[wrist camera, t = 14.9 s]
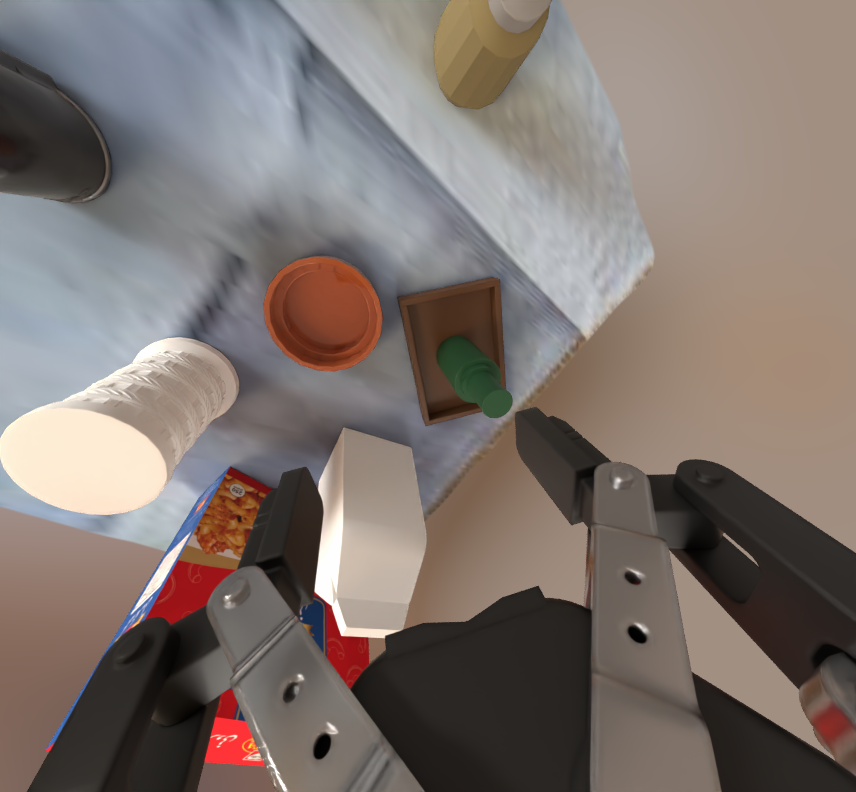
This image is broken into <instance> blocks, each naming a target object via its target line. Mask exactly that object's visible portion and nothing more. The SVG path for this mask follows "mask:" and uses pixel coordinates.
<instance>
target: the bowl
mask: <svg viewBox="0 0 856 792" xmlns="http://www.w3.org/2000/svg"><path fill="white" fill-rule="evenodd" d="M264 315H265V323H266V326H267V328H268V330H269V333H270V335H271V337H272V339H273V341H274V342H275V343H276V344H277V346H278V347H279V348H280V349H281V350H282V352H283V353H284V354H285V355H287V356H288V357H290V358H291V359H292V360H294V361H295V362H297V363H298V364H300V365H303V366H306V367H309V368H312V369H314V370H320V371H338V370H342V369H346V368H350V367H352V366H354V365H356V364H357V363H359V362H361V361H362V360H364V359H365V358H366V357H367V356H368V355H369V354H370V352H371V351H372V350H373V349H374V348H375V346H376V344H377V341H378V339H379V337H380V334H381V331H382V318H383V316H382V310H381V306H380V302H379V298H378V295H377V293H376V291H375V289H374V287H373V286H372V284H371V282H370V281H369V279H368V278H367V277H366V276H365V275H364V274H363V273H362V272H361V271H360V270H359V269H358V268H357V267H356V266H354V265H353V264H350V263H348V262H346V261H344V260H342V259H340V258H338V257H331V256H324V255H317V256H312V257H306V258H302V259H299V260H297V261H295V262H293V263H291V264H290V265H288V266H286V267H285V268H283V269H282V270H280V271H279V272H278V274H277V275H276V276H275V278H274V279H273V280H272V282H271V283H270V284H269V286H268V289H267V293H266V297H265V300H264Z"/></svg>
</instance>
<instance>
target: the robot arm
mask: <svg viewBox="0 0 856 792" xmlns="http://www.w3.org/2000/svg"><path fill="white" fill-rule="evenodd" d="M111 173H112V164H111V157H110V153H109V150H108V147H107V144H106V142H105V140H104V138H103V136H102V134H101V132H100V131H99V129H98V128H97V126H96V125H95V123H94V122H93V121H92V119H91V118H90V117H89V116H88V115H87V113H86V112H85V111H84V110H83V109H82V108H81V107H80V106H79V105H77V104H76V103H75V102H74V101H73V100H72V99H70V98H69V97H68V96H66V95H65V94H63V93H62V92H60V91H59V89H58V88H57V87H56V85H55V83H54V81H53V80H52V78H51V77H50V76H49V75H47V74H45V73H43V72H42V71H40V70H38V69H36V68H34V67H32V66H30V65H28V64H27V63H25V62H23V61H21V60H19V59H17V58H15V57H13V56H12V55H10V54H8V53H6V52H4V51H2V50H0V193H7V194H15V195H23V196H30V197H39V198H44V199H50V200H56V201H61V202H68V203H83V202H88V201H91V200H94V199H95V198H97V197H99V196H100V195H101V194H102V193H103V192H104V191H105V190H106V188H107V187H108V185H109V182H110V179H111ZM515 425H516V445H517V450H518V453H519V455H520V457H521V459H522V460H523V462H524V463H525V464H526V466H527V467H528V468H529V469H530V471H531V472H532V474H533V475H534V476H535V478H536V479H537V480H538V482H539V483H540V484H541V486H542V487H543V488H544V490H545V491H546V492H547V494H548V495H549V496H550V498H551V499H552V500H553V502H554V503H555V504H556V506H557V507H558V508H559V510H560V511H561V512H562V514H563V515H564V516H565V518H566V519H567V520H568V521H569V523H570V524H571V525H574V524H577V523H580V522H584V523H585V525H586V526H587V527H588V533H587V552H586V553H587V554H586V574H585V592H584V605H583V606H582V605H579V604H576V603H573V602H570V601H566V600H561V599H554V598H545V597H544V595H543V594H542V592H541V590H540V588H539V586H536V587H533V588H530V589H527V590H524V591H521V592H518V593H515V594H512V595H509V596H506V597H502V598H501V599H499V600H498V601H496V602H495V603H494V604H492V605H491V606H489V607H488V608H487V609H485V610H483V611H482V612H481V613H479V614H478V615H476V616H475V617H473V618H472V619H470V620H469V621H466V622H442V623H422V624H419V625H416V626H413V627H410V628H407V629H404V630H401V631H398V632H395V633H392V634H389V635H385V643H386V650H385V651H384V652H383V653H381V654H380V655H379V656H377V657H376V658H375V659H374V660H373V661H372V662H371V663H370V664H369V665H368V666H367V667H366V668H365V669H364V670H363V671H362V673H361V674H360V675H359V677H358V678H357V679H356V681H355V682H354V684H353V685H352V687H351V688H350V689H349V687H348V686H347V685H346V683H345V682H344V681H343V679H342V678H341V676H340V675H339V674H338V672H337V671H336V670H335V668H334V667H333V666H332V664H331V663H330V661H329V660H328V659H327V657H326V656H325V655H324V653H323V652H322V650H321V649H320V648H319V646H318V645H317V644H316V642H315V641H314V639H313V638H312V637H311V635H310V634H309V633H308V631H307V630H306V629H305V627H304V626H303V624H302V623H301V622H300V620H299V619H298V617H299V611H300V607H303V606H306V605H310V604H313V600H314V592H315V583H316V575H317V566H318V558H319V549H320V541H321V532H322V524H323V515H324V508H323V502H322V498H321V496H320V494H319V491H318V489H317V487H316V485H315V483H314V481H313V478H312V476H311V474H310V472H309V470H308V468H307V467H302V468H298V469H295V470H291V471H287V472H284V473H283V474H282V477H281V480H280V483H279V486H278V489H274V490H271V491H270V492H269V493H268V495H267V496H266V497H265V498H264V500H263V501H262V502H261V504H260V506H259V509H258V512H257V515H256V518H255V520H254V523H253V526H252V527H253V529H251V531H250V534H249V537H248V540H247V542H246V545H245V548H244V551H243V554H242V556H241V559H240V562H239V565H238V567H237V570H236V571H235V572H233V573H231V574H230V575H229V576H227V577H226V578H225V579H224V580H223V581H222V582H221V583H220V584H219V585H218V586H217V587H216V588H215V589H214V591H213V592H212V594H211V596H210V598H209V600H208V603H207V604H206V605H205V606H203V607H201V608H200V609H198V610H196V611H194V612H193V613H191V614H189V615H187V616H186V617H184V618H182V619H180V620H179V621H177V622H175V623H173V624H172V625H171V624H170V623H169V622H168V621H167V620H166V619H165V618H163V617H153V618H149V619H147V620H144V621H142V622H140V623H138V624H137V625H135V626H134V627H132V628H131V629H129V630H128V631H127V632H125V633H124V634H123V635H122V636H121V637H120V638H119V639H118V640H117V641H116V642H115V643H114V644H113V645H112V646H111V647H110V648H109V649H108V651H107V652H106V653H105V655H104V656H103V657H102V659H101V661H100V662H99V664H98V666H97V668H96V669H95V671H94V673H93V675H92V677H91V678H90V680H89V682H88V684H87V685H86V687H85V689H84V691H83V693H82V694H81V696H80V698H79V700H78V702H77V703H76V705H75V707H74V709H73V710H72V712H71V714H70V716H69V718H68V719H67V721H66V723H65V725H64V726H63V728H62V730H61V732H60V734H59V735H58V737H57V739H56V741H55V743H54V744H53V746H52V748H51V750H50V751H49V754H48V755H47V757H46V759H45V760H44V762H43V764H42V766H41V768H40V770H39V771H38V773H37V775H36V776H35V778H34V780H33V782H32V784H31V785H30V787H29V789H28V791H27V792H197V789H198V785H199V781H200V777H201V773H202V769H203V765H204V761H205V757H206V753H207V749H208V745H209V741H210V737H211V733H212V729H213V725H214V721H215V717H216V713H217V709H218V705H219V701H220V697H221V694H222V693H224V692H225V691H227V690H228V689H229V688H232V690H233V693H234V695H235V697H236V700H237V702H238V704H239V707H240V709H241V711H242V714H243V716H244V718H245V721H246V723H247V725H248V728H249V730H250V732H251V735H252V737H253V739H254V742H255V744H256V746H257V749H258V751H259V753H260V756H261V758H262V760H263V763H264V765H265V767H266V770H267V772H268V774H269V776H270V779H271V781H272V783H273V786H274V788H275V790H276V792H856V553H855V552H853V551H852V550H850V549H849V548H847V547H846V546H844V545H843V544H841V543H840V542H838V541H837V540H835V539H834V538H832V537H831V536H829V535H828V534H826V533H825V532H823V531H822V530H820V529H819V528H817V527H815V526H814V525H813V524H811V523H810V522H808V521H807V520H805V519H804V518H802V517H801V516H799V515H798V514H796V513H795V512H793V511H792V510H790V509H789V508H787V507H786V506H784V505H783V504H781V503H780V502H778V501H777V500H775V499H774V498H772V497H771V496H769V495H768V494H766V493H765V492H763V491H762V490H760V489H759V488H757V487H755V486H754V485H753V484H751V483H749V482H748V481H747V480H745V479H744V478H742V477H741V476H739V475H738V474H736V473H735V472H733V471H731V470H730V469H728V468H726V467H724V466H722V465H720V464H717V463H714V462H710V461H706V460H696V459H695V460H686V461H683V462H682V463H680V464H679V465H678V467H677V470H676V474H671V475H670V474H669V475H645V474H644V473H643V472H642V471H641V470H639V469H638V468H636V467H634V466H632V465H629V464H625V463H621V462H611V461H610V460H609V459H608V458H606V457H605V456H604V455H603V454H602V453H601V452H600V451H599V450H597V449H596V448H595V447H594V446H593V445H592V444H591V443H589V442H588V441H587V440H586V439H585V438H583V437H582V436H581V435H580V434H579V433H578V432H577V431H575V429H573V428H572V427H571V426H570V425H569V424H568V423H567V422H565V421H563V420H561V419H558V418H556V417H554V416H550V417H547V416H546V415H545V414H544V413H542V412H541V411H540V410H539V409H538V408H537V407H534V408H529V409H526V410H522V411H518V412H516V414H515ZM723 533H726V534H727V535H728V536H729V537H730V538H731V539H733V540H734V541H735V542H736V543H737V544H738V545H740V546H741V547H742V548H743V549H744V550H745V551H747V552H748V553H749V554H750V555H751V556H752V557H753V558H754V560H755V561H756V562H757V564H758V566H759V567H758V566H757V565H756V564H755V563H754V562H753V561H751V560H750V559H749V558H748V557H747V556H746V555H745V554H743V553H742V552H741V551H740V550H739V549H737V548H736V547H735V546H734V545H733V544H732V543H731V542H729V541H728V540H727V539H726V538H725V537H724V536H723ZM669 550H670V551H671V552H672V553H673V554H674V555H675V557H676V558H677V559H678V560H679V561H680V562H681V563H682V564H683V565H684V566H685V567H686V568H687V569H688V570H689V572H690V573H691V574H692V575H693V576H694V577H695V578H696V579H697V580H698V581H699V582H700V583H701V585H702V586H703V587H704V588H705V589H706V590H707V591H708V592H709V593H710V594H711V595H712V596H713V598H714V599H715V600H716V601H717V602H718V603H719V604H720V605H721V606H722V607H723V608H724V609H725V611H726V612H727V613H728V614H729V615H730V616H731V617H732V618H733V619H734V620H735V621H736V622H737V623H738V625H740V627H741V628H742V629H743V630H744V631H745V632H746V633H747V634H748V635H749V636H750V637H751V639H753V641H754V642H755V643H756V644H757V645H758V646H759V647H760V648H761V649H762V650H763V651H764V653H765V654H766V655H767V656H768V657H769V658H770V659H771V660H772V661H773V662H774V663H775V664H776V665H777V667H778V668H779V669H780V670H781V671H782V672H783V673H784V674H785V675H786V676H787V677H788V679H789V680H790V681H791V682H792V683H793V684H794V685H795V686H796V687H797V688H798V689H799V699H800V703H801V706H802V709H803V711H804V713H805V715H806V717H807V718H808V720H809V721H810V723H811V725H812V726H813V731H814V734H815V736H816V738H817V739H818V741H819V742H820V744H821V745H822V746H823V747H824V748H825V749H826V750H827V751H828V752H829V753H830V754H831V755H833V757H834V759H835V761H834V760H833V759H832V758H830V757H829V756H827V755H825V754H824V753H822V752H821V751H819V750H817V749H816V748H814V747H813V746H811V745H809V744H808V743H806V742H805V741H803V740H801V739H800V738H798V737H796V736H795V735H793V734H792V733H790V732H788V731H787V730H785V729H783V728H782V727H780V726H779V725H777V724H775V723H774V722H772V721H771V720H769V719H767V718H766V717H764V716H762V715H761V714H759V713H758V712H756V711H754V710H753V709H751V708H750V707H748V706H746V705H745V704H743V703H741V702H740V701H738V700H737V699H735V698H733V697H732V696H730V695H728V694H727V693H725V692H723V691H722V690H720V689H719V688H717V687H716V686H714V685H712V684H711V683H709V682H707V681H706V680H704V679H702V678H701V677H699V676H698V675H696V674H694V673H693V672H692V671H691V666H690V661H689V655H688V650H687V645H686V639H685V634H684V629H683V623H682V618H681V612H680V607H679V602H678V596H677V591H676V585H675V580H674V575H673V569H672V564H671V559H670V553H669Z"/></svg>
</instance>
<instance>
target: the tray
mask: <svg viewBox="0 0 856 792" xmlns="http://www.w3.org/2000/svg"><path fill="white" fill-rule="evenodd" d="M398 302H399V307H400V312H401V317H402V322H403V326H404V331H405V336H406V341H407V345H408V350H409V355H410V360H411V365H412V369H413V374H414V379H415V384H416V388H417V393H418V398H419V403H420V408H421V412H422V417H423V420H424V423H425V426H428V425H432V424H436V423H440V422H444V421H448V420H451V419H455V418H459V417H463V416H467V415H471V414H475V413H478V412H482V410H481V408H480V407H479V406H478V404H477V403H469V402H466V401H464V400H462V399H461V398H460V397H459V396H458V395H457V393H456V392H455V390H454V389H453V387H452V386H451V384H450V383H449V381H448V380H447V378H446V376H445V375H444V373H443V372H442V370H441V369H440V367H439V366H438V364H437V360H436V353H437V349H438V347H439V346H440V344H441V343H442V342H443V341H444V340H445V339H447V338H449V337H452V336H463V337H466V338H467V339H469V340H470V341H471V342H472V343H473V344H474V345H475V346H477V347H478V348H479V349H480V350H481V351H482V352H483V353H484V354H486V355H487V356H488V357H489V358H490V359H491V360H492V361H493V362H494V363H496V365H497V366H498V367H499V369H500V372H501V382H500V384H501V385H502V386H503V387H504V388H505V389H506V382H505V364H504V345H503V327H502V308H501V290H500V279H497V278H494V277H490V278H486V279H481V280H476V281H472V282H467V283H462V284H458V285H453V286H448V287H444V288H439V289H434V290H430V291H425V292H420V293H416V294H411V295H406V296H402V297H398Z"/></svg>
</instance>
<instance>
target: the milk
mask: <svg viewBox="0 0 856 792" xmlns="http://www.w3.org/2000/svg"><path fill="white" fill-rule="evenodd" d="M318 491H319V494H320V496H321V498H322V502H323V508H324V515H323V524H322V532H321V541H320V549H319V558H318V566H317V575H316V583H315V592H316V594H318V595H319V596H320V597H321V598H323V599H324V600H325V601H326V602H327V603H329V604H330V605H332V609H333V612H334V615H335V618H336V621H337V624H338V627H339V630H340V633H341V636H354V637H376V638H377V637H378V638H385V635H389V634H392V633H395V632H398V631H401V630H403V627H404V623H405V619H406V615H407V611H408V607H409V605H408V603H409V602H410V600H411V597H412V593H413V590H414V587H415V584H416V580H417V577H418V574H419V571H420V567H421V564H422V561H423V557H424V553H425V549H426V543H427V535H426V528H425V523H424V517H423V511H422V506H421V500H420V494H419V488H418V483H417V477H416V471H415V465H414V460H413V454H412V448H411V447H408V446H405V445H401V444H398V443H395V442H391V441H388V440H385V439H381V438H378V437H375V436H371V435H368V434H365V433H361V432H358V431H355V430H351V429H348V428H345V427H343V430H342V432H341V434H340V436H339V438H338V441H337V443H336V445H335V447H334V449H333V452H332V454H331V456H330V458H329V461H328V463H327V465H326V467H325V469H324V472H323V474H322V476H321V478H320V480H319V487H318Z"/></svg>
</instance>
